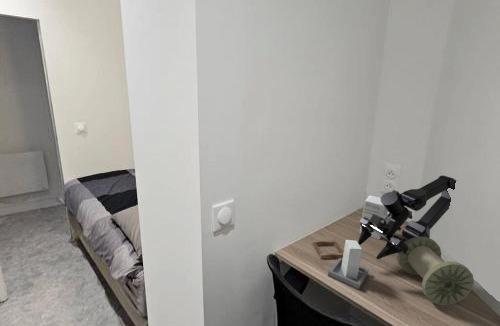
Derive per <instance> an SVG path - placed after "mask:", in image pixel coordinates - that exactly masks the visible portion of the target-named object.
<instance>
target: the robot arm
mask: <svg viewBox="0 0 500 326" xmlns="http://www.w3.org/2000/svg"><path fill="white" fill-rule="evenodd" d="M456 181H457V180H456V179H455V178H453V177H450V176H447V175H440V176H438V178H436V179H435V180H432V181H430V182H428V183H427V184H425V185H424V186H422V187H420V188H415V189H414V188H413V189H412V188H410V189H408V190H405V191H403V192H402V193H400V192H399V191H397V190H395V189H394V190H392V191H389V192H386V193H384V194H382V195H381V197H380V198H381V202H382V204H383V205H384V207H385V208H386V209H387V211H388V212H387V216H386V215H384V216H382V217H380V216H377V215H375V214H373V215H372V217H371V219H370V220H368V219H367V218H365V217H364V218H362V217H361V219H360V220H358V222H359V223H360V224H359V226H360V227H362V231H361V233H360V235H359V237H358V240H357V242H358V244H359V245H360V246H361V245H362V244H364V242H366V241H367V240H368V239H369V238H371V237H370V236H371V235H372V234H371V233H372V232H376V233H377V234H379V235H380V236H381V238H383V239H385V240H386V245H385V246H384V247H383V248H382V249H381V250H380V251H379V253H378V254H376V260H381V259H382V258H386V257H387V256H390V255H391V256H392V255H395V254H398V253H399V254H400V253H401V252H402V253H404V254H405V253H406V252H407V251H408V246H407V244H406V243H405V242H406V241H408V240H409V239H411V238H415V237H418V236H420V237H428V238H430V236H431V235H430V234H431V229H432V228H433V227H434V226H435V225H436V224H437V222H439V220H440V219H441V218H442V217H443V216H444V215H445V214H446V213H447V212H448V210H449V209H450V208H449V206H450V202H451V197H450V195H449V193H448V191H447V189H448V188H451V189H453V190H454V189H455V183H456ZM439 194H441V195H440V196H439V197H438V198H437V200H436V201H435V202H434V203H433V204H432V205H431V206H430V207H429V208H428V210H427V211H426V212H425V213H424V214H423V215H422V216H421V217H420V219H418V220H417V221H414V220H412V219H413V211H414V212H418V211H420V210H421V209H423V208H424V207H425V206H426V205H427V201H429V200H431V199H432V198H434V197H436V196H438V195H439ZM409 209H410V210H409ZM412 210H413V211H412ZM408 219H410V221H409V222H408V224H406V225H405V226H404V228H403V229H402V228H401V227H402V226H403V225H404V224H405V222H406V221H407V220H408ZM373 223H374V224H375V225H376V226H377V227H375V225H374V224H373ZM397 231H399V232H400V231H401V238H400V237H399V236H397V235H395V233H397ZM380 232H381V233H380ZM430 239H431V238H430Z"/></svg>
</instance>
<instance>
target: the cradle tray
mask: <svg viewBox="0 0 500 326" xmlns="http://www.w3.org/2000/svg"><path fill="white" fill-rule="evenodd" d="M342 260H343V258H337V260H336V262H335V263H334V264H333V265H332V266H331V267H330V269H329V270H328V272H327V277H329V278H332V279H334V280H336V281H338V282H340V283H343V284H345V285H346V286H348V287H350V288H353V289H355V290H358V291H359V290H361V289H360V288H361V287H362V285H363V284H364V282H365V280H366V279H367V277H368V275H369V271H370V270H369V269H368V268H366V267H363V266H361V265H359V270H358V276H357V279H350V278H347V277H345V276H344V273H343V271H342V269H341V266H342Z"/></svg>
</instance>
